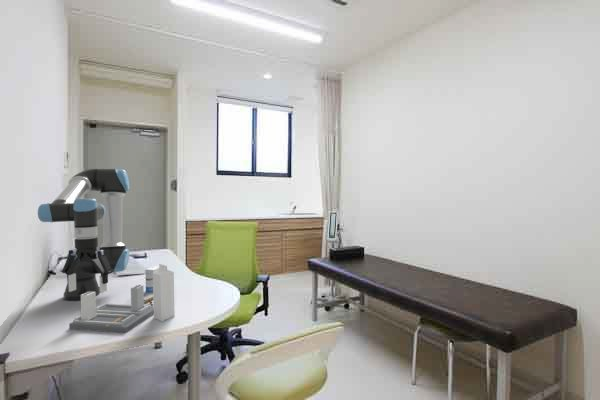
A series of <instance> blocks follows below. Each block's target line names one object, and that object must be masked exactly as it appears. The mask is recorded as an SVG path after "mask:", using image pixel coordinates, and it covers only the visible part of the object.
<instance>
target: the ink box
mask: <svg viewBox="0 0 600 400" xmlns="http://www.w3.org/2000/svg"><path fill="white" fill-rule="evenodd" d="M158 268H159V265H154V266H151V267H148V268H146V269H144V270H145V271H144V273H145V292H147V293H153V272H154V271H156V270H157V269H158Z"/></svg>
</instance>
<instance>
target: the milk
mask: <svg viewBox="0 0 600 400" xmlns="http://www.w3.org/2000/svg"><path fill="white" fill-rule="evenodd" d="M158 266H159V268H158V269H157V270H156V271H154V272H153V292H152V295H153V296H152V297H153V301H152V304H153V305H152V307H154V314H153V318H155V319H156V320H158V321H161V322H163V321H166V320H168V319H171V318H174V317H175V311H176V310H175V273H174V271H172V270H169V269H168V266H167V265H165V264H161V263H159V265H158Z"/></svg>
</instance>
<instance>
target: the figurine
mask: <svg viewBox="0 0 600 400" xmlns="http://www.w3.org/2000/svg"><path fill="white" fill-rule="evenodd" d="M148 304H149V305H150V306H153V296H150V297H148V298H145V299H144V305H145V306H146V305H148Z"/></svg>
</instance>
